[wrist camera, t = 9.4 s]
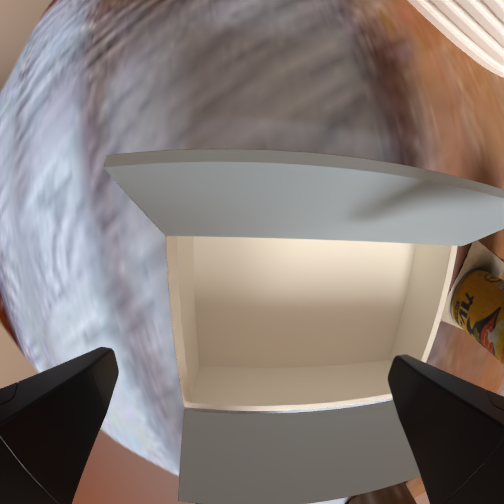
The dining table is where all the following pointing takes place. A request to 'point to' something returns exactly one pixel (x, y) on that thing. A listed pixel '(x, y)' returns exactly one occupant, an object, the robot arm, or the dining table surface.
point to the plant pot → (386, 496)
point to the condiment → (479, 299)
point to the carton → (299, 318)
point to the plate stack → (470, 27)
